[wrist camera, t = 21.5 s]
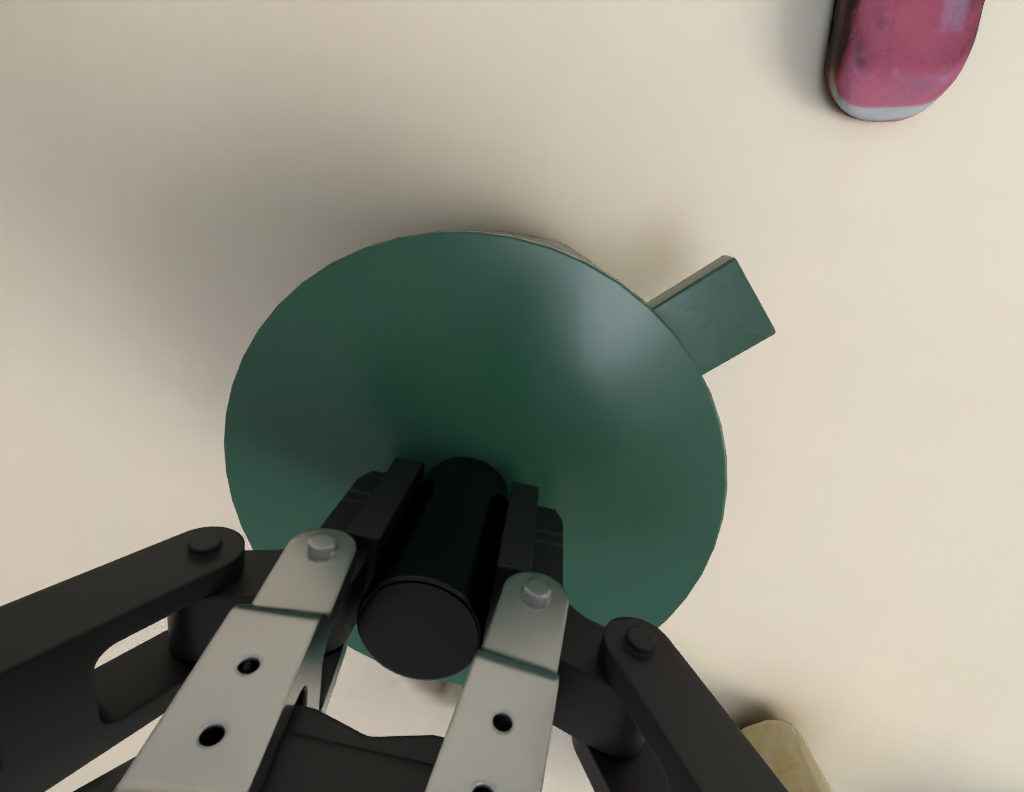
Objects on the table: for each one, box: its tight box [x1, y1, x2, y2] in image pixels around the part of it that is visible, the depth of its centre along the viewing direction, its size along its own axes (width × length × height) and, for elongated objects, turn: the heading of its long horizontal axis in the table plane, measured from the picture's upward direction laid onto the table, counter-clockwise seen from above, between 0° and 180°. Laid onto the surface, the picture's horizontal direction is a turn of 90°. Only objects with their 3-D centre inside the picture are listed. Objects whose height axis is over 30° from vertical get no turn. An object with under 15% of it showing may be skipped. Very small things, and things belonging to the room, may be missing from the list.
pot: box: [492, 231, 775, 375], centre depth 19 cm, size 13×18×8 cm
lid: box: [224, 231, 727, 685], centre depth 13 cm, size 14×14×6 cm
